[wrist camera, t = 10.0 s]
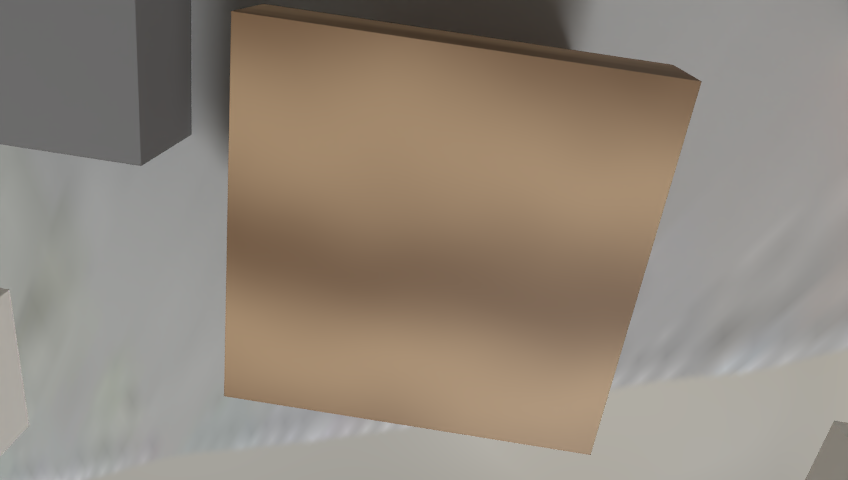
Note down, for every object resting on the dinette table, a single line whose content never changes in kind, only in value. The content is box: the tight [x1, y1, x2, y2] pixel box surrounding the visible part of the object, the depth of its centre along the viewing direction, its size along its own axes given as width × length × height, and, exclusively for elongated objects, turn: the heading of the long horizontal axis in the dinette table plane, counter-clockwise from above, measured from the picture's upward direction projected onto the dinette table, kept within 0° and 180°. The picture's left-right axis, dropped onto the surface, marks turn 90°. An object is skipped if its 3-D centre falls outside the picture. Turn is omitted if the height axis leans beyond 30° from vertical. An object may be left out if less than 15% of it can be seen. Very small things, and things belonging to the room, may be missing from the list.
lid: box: [224, 4, 701, 455], centre depth 19 cm, size 11×11×2 cm
